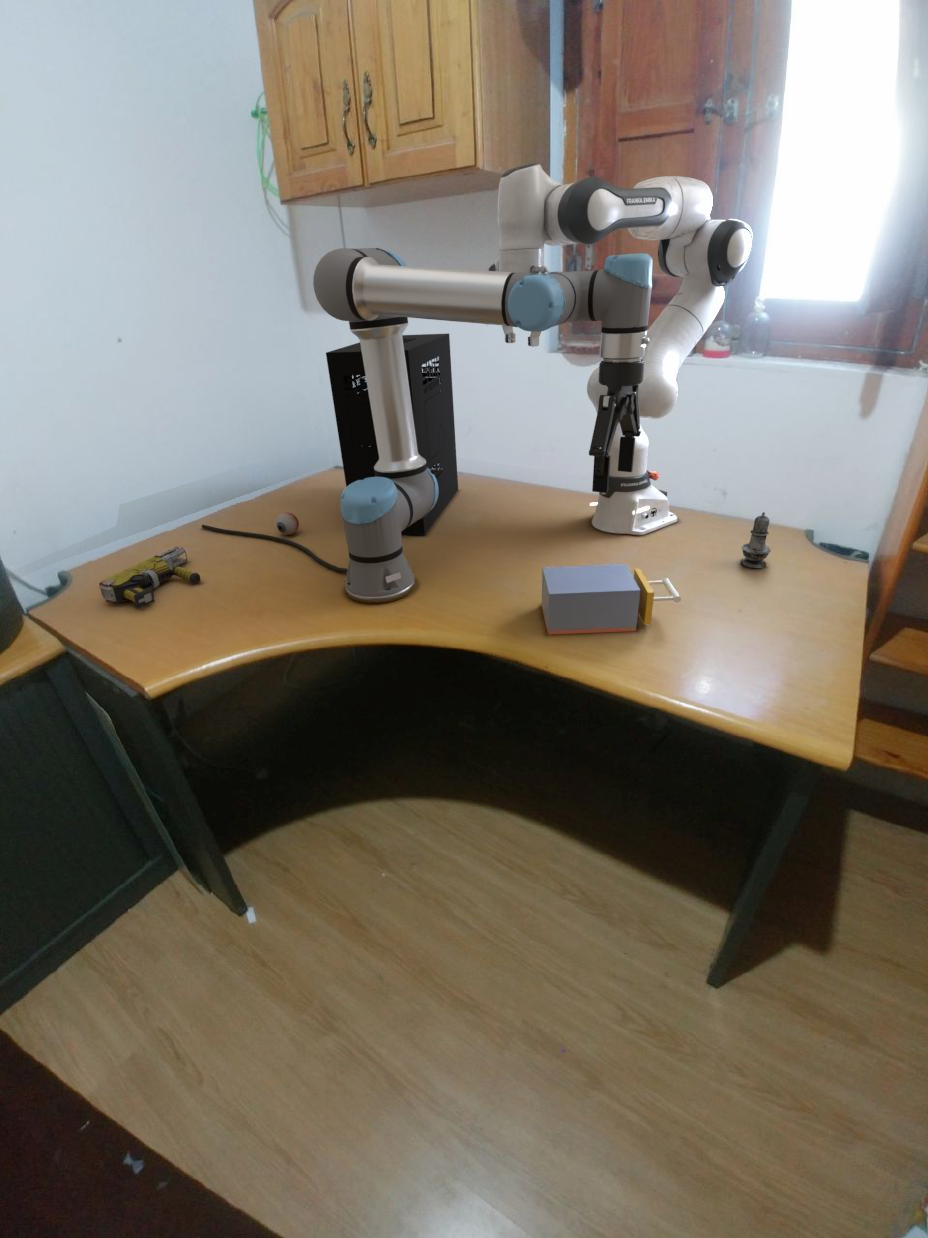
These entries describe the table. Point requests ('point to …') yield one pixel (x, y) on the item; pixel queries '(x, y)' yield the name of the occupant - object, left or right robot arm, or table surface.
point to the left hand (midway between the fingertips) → (613, 481)
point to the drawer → (651, 595)
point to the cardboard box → (427, 407)
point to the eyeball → (287, 523)
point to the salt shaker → (757, 544)
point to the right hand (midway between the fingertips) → (521, 344)
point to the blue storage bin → (589, 599)
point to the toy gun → (146, 578)
